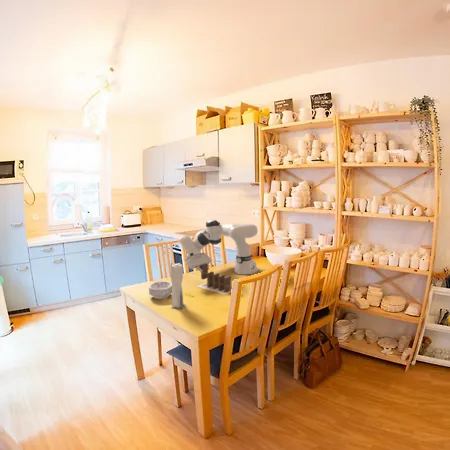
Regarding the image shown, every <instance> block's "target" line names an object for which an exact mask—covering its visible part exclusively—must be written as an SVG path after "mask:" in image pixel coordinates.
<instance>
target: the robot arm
mask: <svg viewBox="0 0 450 450" xmlns="http://www.w3.org/2000/svg"><path fill="white" fill-rule="evenodd" d="M205 228H206V230H205V229H201V230H199V231H197V232H196V234H195V235H194V238H193V239H192V238H191V237H190V235H184V236H183V237H182V238H181V239H180V240H179V242H180V244H181V247H182V249H183V251H185V252H186V254H187V256H185V258H184V261H185V262H186V265H187V267H188V269H190V270H193V269H196V270H197V271H199V273H201V272H203V269H201V265H203V264H208V265H209V264H210V263H211V262H212V259H211V257H209V255H208V254H207V253H206V252H201V251H202V250H203V248H205V247H206V246H208V245H209V244H210V245H213V246H214V245H215V246H216V245H219V244H220V243H222V236H225V237H229V238H231V239H232V240H233V241H234V243H235V245H236V255H235V256H236V257H235V262H234V269H233V271H234V273H235V274H238V275H254V274H255V273H257V272H259V270H260V267H257V262H256V261H255V260H253V259H252V258H254V254H251V245H250V244H249V243H248V242H247V241H246V239H249V238H250V239H251V238H253V237H255V236H257V234H258V231H259V230H258V227H257V226H256V224H253V223H252V224H251V223H236V224H235V223H223V224H221V223H220V222H219V221H218V220H217V219H209V220H208V221H206V223H205ZM221 235H222V236H221ZM209 270H210V267H209V266H208V271H209Z"/></svg>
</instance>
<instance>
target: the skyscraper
mask: <svg viewBox="0 0 450 450" xmlns="http://www.w3.org/2000/svg"><path fill="white" fill-rule="evenodd" d="M169 266H170V267H169V268H170V280H171V281H170V283H172V293H171V308H170V309H171V310H184V308H185V306H187V304H185V303H184V294H183V292H184V291H183V286H182V285H183V277H184V276H183V275H184V267H183V266H184V265H183V264H181V263H180V262H178V263H173V261H169Z"/></svg>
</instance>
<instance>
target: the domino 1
mask: <svg viewBox="0 0 450 450" xmlns="http://www.w3.org/2000/svg"><path fill="white" fill-rule="evenodd" d="M208 267H209V264H203V265H201V266H200V268H201V269H203V272H200V278H201V279H200V280H205V279H206V280H207V273H209V270H208Z"/></svg>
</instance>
